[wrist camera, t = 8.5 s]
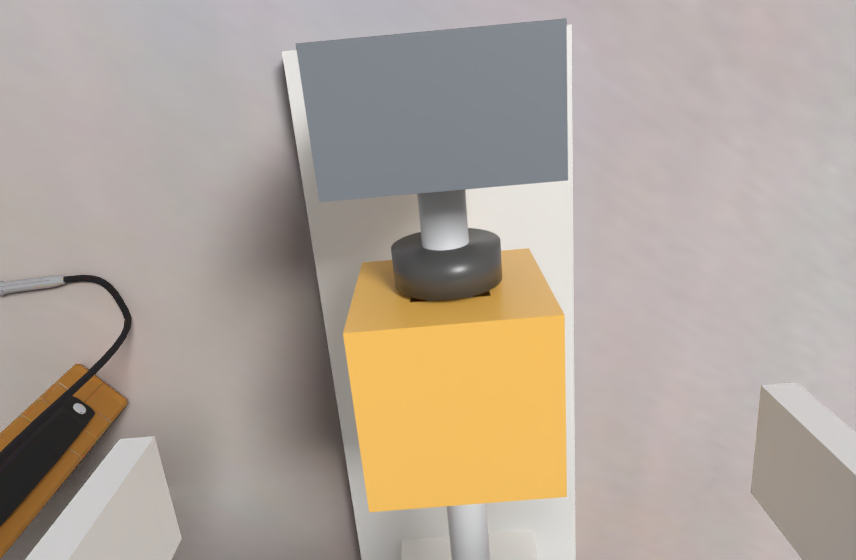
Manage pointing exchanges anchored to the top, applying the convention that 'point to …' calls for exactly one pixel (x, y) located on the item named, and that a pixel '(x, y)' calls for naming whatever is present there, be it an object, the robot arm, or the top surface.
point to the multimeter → (53, 427)
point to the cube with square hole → (458, 390)
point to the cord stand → (440, 222)
